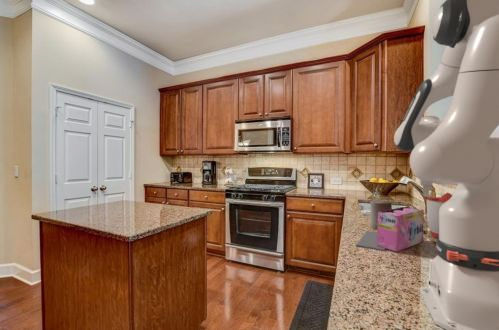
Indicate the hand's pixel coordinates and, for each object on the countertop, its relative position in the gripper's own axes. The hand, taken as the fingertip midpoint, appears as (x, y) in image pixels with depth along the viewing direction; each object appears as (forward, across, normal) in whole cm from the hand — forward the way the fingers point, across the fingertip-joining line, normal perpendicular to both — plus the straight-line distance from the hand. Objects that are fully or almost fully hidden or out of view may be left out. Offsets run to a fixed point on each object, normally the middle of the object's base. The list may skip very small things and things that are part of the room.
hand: (425, 195), depth 93 cm
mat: (+21, 0, +18) cm, 27 cm away
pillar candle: (+21, +24, +18) cm, 37 cm away
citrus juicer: (+21, +22, -9) cm, 32 cm away
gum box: (+21, 0, +8) cm, 22 cm away
